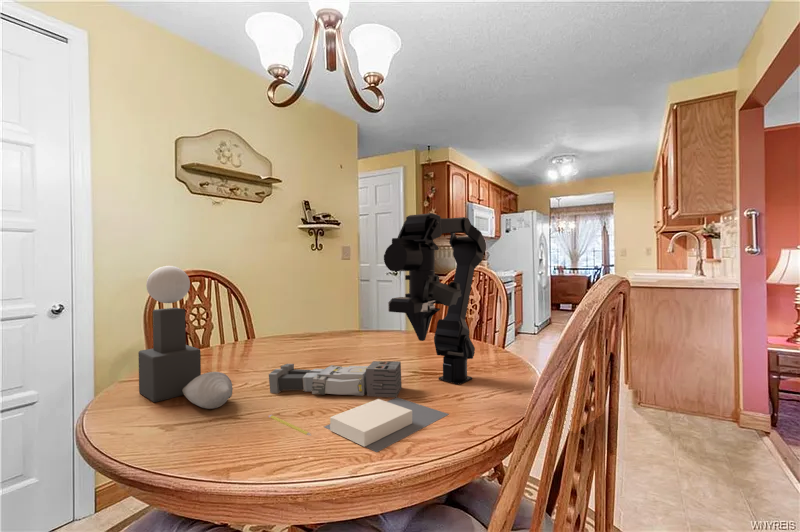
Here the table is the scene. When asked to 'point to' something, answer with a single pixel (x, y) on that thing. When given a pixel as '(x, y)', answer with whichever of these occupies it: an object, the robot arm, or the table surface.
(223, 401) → the seashell
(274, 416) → the pencil
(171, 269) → the sculpture
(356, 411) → the cream rectangular block
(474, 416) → the table surface
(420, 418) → the mat
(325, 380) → the toy figure
